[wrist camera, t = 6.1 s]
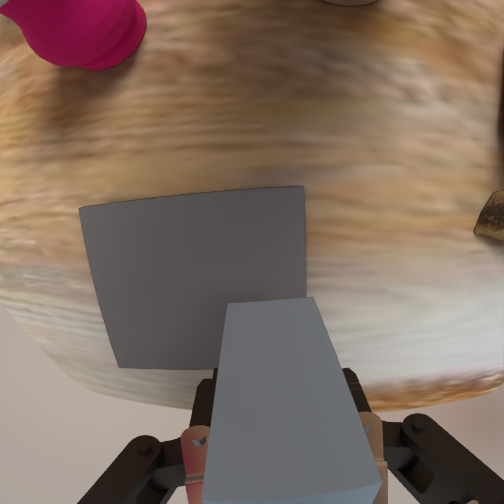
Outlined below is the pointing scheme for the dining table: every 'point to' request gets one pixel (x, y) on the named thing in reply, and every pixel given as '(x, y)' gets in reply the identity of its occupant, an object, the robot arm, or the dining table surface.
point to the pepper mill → (79, 29)
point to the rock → (492, 218)
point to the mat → (191, 268)
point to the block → (284, 414)
